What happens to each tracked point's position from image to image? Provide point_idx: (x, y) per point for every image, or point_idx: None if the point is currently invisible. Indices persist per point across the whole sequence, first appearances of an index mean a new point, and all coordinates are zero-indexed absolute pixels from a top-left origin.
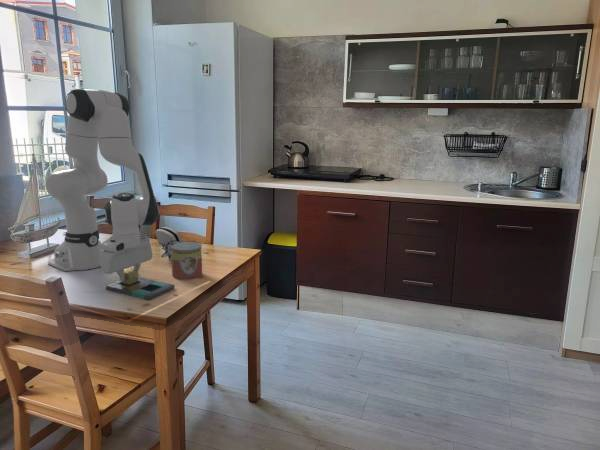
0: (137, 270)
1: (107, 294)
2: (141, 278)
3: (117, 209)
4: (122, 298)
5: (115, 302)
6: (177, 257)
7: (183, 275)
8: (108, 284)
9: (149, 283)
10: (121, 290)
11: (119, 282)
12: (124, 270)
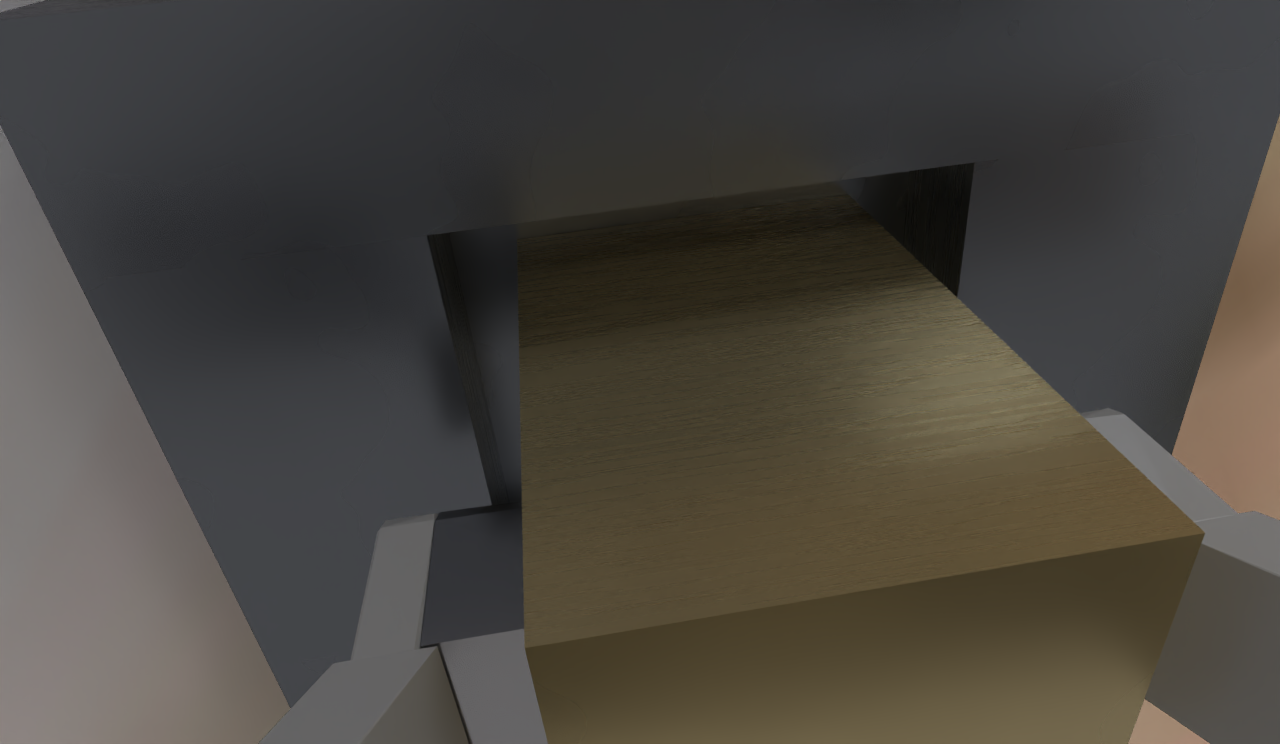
0: (1168, 710)
1: (9, 282)
2: (1138, 384)
3: None
4: (219, 676)
5: (14, 739)
6: None
7: None
8: (105, 15)
9: None
10: (273, 626)
11: (541, 172)
12: (762, 676)
